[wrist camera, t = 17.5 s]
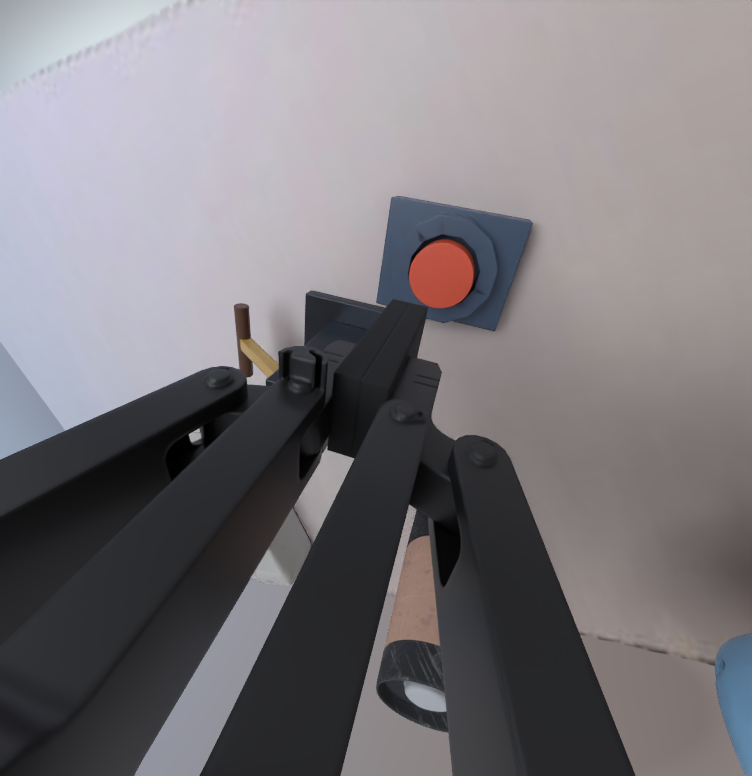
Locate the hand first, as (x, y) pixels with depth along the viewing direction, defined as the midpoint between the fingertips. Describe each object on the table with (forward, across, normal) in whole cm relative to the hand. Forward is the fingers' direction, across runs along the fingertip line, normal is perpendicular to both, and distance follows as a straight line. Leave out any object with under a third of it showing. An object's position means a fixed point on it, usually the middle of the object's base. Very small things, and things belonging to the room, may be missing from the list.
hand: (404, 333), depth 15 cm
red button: (+13, 0, 0) cm, 13 cm away
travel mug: (+16, -7, +26) cm, 31 cm away
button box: (+16, 0, 0) cm, 16 cm away
